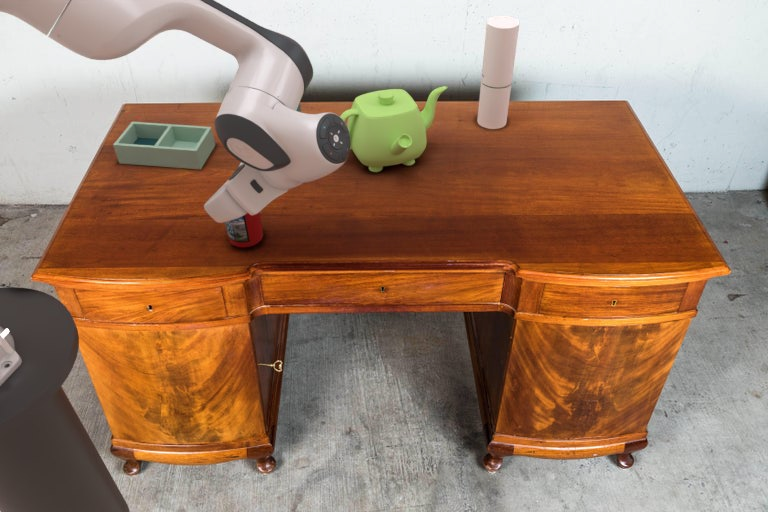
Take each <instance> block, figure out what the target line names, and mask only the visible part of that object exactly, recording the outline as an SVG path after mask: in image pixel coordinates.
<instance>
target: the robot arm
mask: <svg viewBox="0 0 768 512" xmlns="http://www.w3.org/2000/svg"><path fill="white" fill-rule="evenodd" d="M0 13H6V14H8V15H11V16H13V17H15V18H16V19H19V20H21V21H22V22H25V24H27V25H29V26H31V27H33V28H34V29H36V30H37V31H38V32H40V33H42V34H43V35H45V36H48V38H50V39H51V40H53V41H54V42H56V43H58V44H59V45H61V46H62V47H64V48H66V49H68V50H69V51H71V52H73V53H75V54H77V55H79V56H82V57H84V58H86V59H90V60H95V61H109V60H116V59H120V58H122V57H125V56H127V55H129V54H131V53H133V52H135V51H136V50H138V49H139V48H141V47H143V46H144V45H145V44H146V43H147V42H149V41H150V40H152V39H153V38H155V37H156V36H158V35H159V34H162V33H165V32H168V31H173V30H174V31H175V30H177V31H182V32H185V33H188V34H190V35H192V36H194V37H196V38H198V39H200V40H201V41H204V42H206V43H208V44H210V45H211V46H213V47H215V48H218V49H220V50H222V51H223V52H225V53H227V54H229V55H231V56H233V57H234V59H235V60H236V62H237V64H238V68H237V70H236V73H235V75H234V77H233V79H232V81H231V83H230V86H229V89H228V91H227V92H226V93H225V96H224V98H223V100H222V103H221V104H220V107H219V110H218V111H217V114H216V117H215V119H214V122H213V125H214V129H215V132H216V135H217V137H218V139H219V141H220V143H221V144H222V145H223V147H224V148H225V150H226V151H227V152H228V154H229V155H230V156H232V157H233V158H235V160H237V161H238V162H240V163H239V165H238V167H237V168H236V169H235V170H234V172H233V173H232V174H231V176H230V177H229V178H228V179H227V180H226V181H225V183H223V185H221V186H220V188H219V189H218V190H217V191H215V192H214V193H213V194H212V195H211V196H210V197H209V199H208V200H206V202H205V203H204V204H203V209H204V211H205V212H206V214H208V215H209V217H210V218H211V219H212V220H213V221H215V222H216V223H218V224H221V223H222V224H223V223H225V222H227V221H231V220H234V219H237V218H240V217H242V216H244V215H245V214H247V213H249V214H250V215H255V214H257V213H259V212H260V213H261V212H262V211H263V210H264V209H265V208H266V207H268V205H269V204H271V203H272V202H274V200H276V199H277V198H279V197H280V196H282V195H284V194H286V193H287V192H288V191H289V190H292V189H294V188H297V187H299V186H301V185H303V184H304V183H311V182H314V181H316V180H319V179H322V178H324V177H326V176H329V175H331V174H333V173H334V172H336V171H337V170H338V169H340V168H341V167H342V166H343V165H344V164H345V163H346V161H348V157H349V155H350V152H351V150H350V147H351V138H350V133H349V130H348V127H347V122H346V121H345V122H344V121H343V119H342V118H341V117H340V116H341V115H338V114H336V113H335V112H329V111H327V112H320V113H306V112H302V111H301V112H298V111H297V108H298V106H299V103H300V104H301V100H302V99H303V97H304V95H305V94H306V91H307V90H308V88H309V86H310V84H311V82H312V80H313V78H314V69H313V64H312V61H311V60H310V57H309V56H308V54H307V52H306V50H305V49H304V48H303V46H302V45H300V43H299V42H297V41H296V40H295V39H293V38H291V37H289V36H288V35H285V34H283V33H280V32H277V31H274V30H271V29H270V28H266V27H263V26H262V25H259V24H258V23H256V22H254V21H252V20H251V19H249V18H247V17H245V16H243V15H241V14H239V13H238V12H236V11H234V10H232V9H231V8H229V7H228V6H227V7H226V6H225V5H223V4H221V3H220V2H218V1H216V0H0ZM21 363H22V359H21V357H20V356H19V355H18V354H17V352H16V351H15V345H14V339H13V337H12V335H11V334H10V333H9V330H8V329H3V328H2V327H1V326H0V386H1V385H2V384H3V383H4V382H5V381H6V379H7V378H8V377H9V376H10V375H11V374H12V373H13V372H14V371H15V370H16V369H17V368H18V367H19V366H20V365H21Z"/></svg>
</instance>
